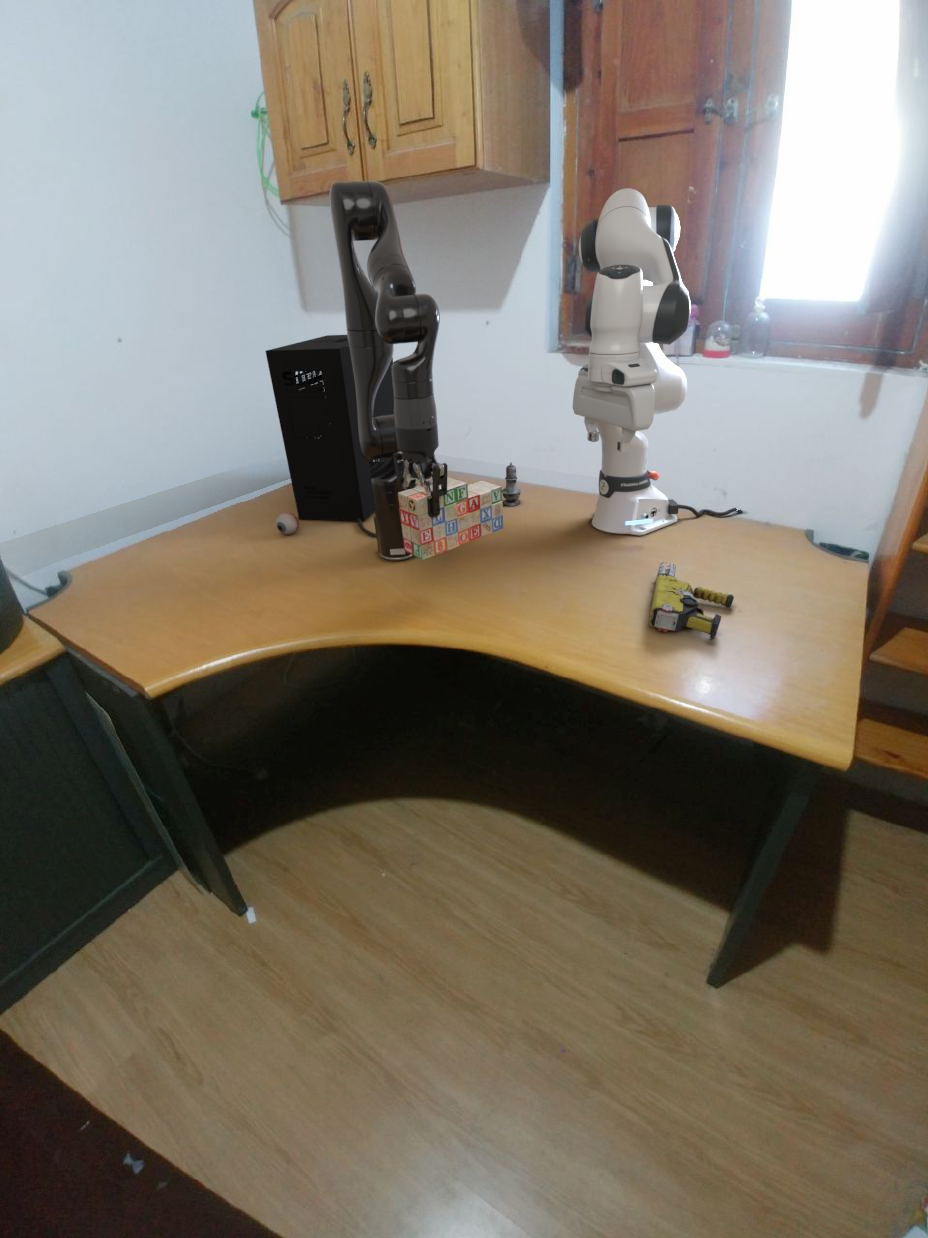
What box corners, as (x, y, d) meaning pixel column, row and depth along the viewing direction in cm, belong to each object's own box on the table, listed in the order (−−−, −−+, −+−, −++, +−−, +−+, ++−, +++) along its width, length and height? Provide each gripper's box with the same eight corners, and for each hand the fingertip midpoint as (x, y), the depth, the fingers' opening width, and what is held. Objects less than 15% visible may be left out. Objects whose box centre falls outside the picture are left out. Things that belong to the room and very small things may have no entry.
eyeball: (273, 537, 164) (268, 516, 161) (287, 528, 169) (282, 508, 166) (291, 539, 161) (286, 518, 158) (305, 530, 166) (301, 510, 163)
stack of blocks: (484, 521, 131) (482, 465, 125) (503, 529, 127) (502, 471, 121) (403, 551, 120) (397, 491, 114) (422, 560, 116) (416, 499, 109)
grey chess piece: (520, 506, 175) (520, 465, 169) (500, 505, 176) (499, 465, 170) (522, 499, 180) (522, 459, 174) (503, 499, 181) (502, 459, 175)
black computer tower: (364, 521, 170) (339, 348, 148) (298, 518, 175) (265, 350, 152) (405, 480, 202) (390, 332, 180) (349, 479, 207) (327, 335, 184)
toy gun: (734, 572, 125) (660, 559, 129) (740, 625, 105) (652, 607, 109) (728, 592, 127) (655, 579, 131) (733, 648, 107) (647, 630, 111)
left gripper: (376, 420, 110) (386, 507, 118) (423, 432, 100) (430, 527, 109) (409, 412, 114) (417, 498, 122) (457, 424, 104) (462, 515, 113)
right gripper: (566, 365, 116) (563, 437, 123) (634, 377, 100) (627, 460, 107) (593, 361, 118) (589, 433, 125) (664, 373, 102) (655, 454, 109)
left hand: (423, 511), depth 115 cm, fingers closed on stack of blocks, 6 cm apart
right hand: (607, 445), depth 116 cm, fingers open, 8 cm apart
